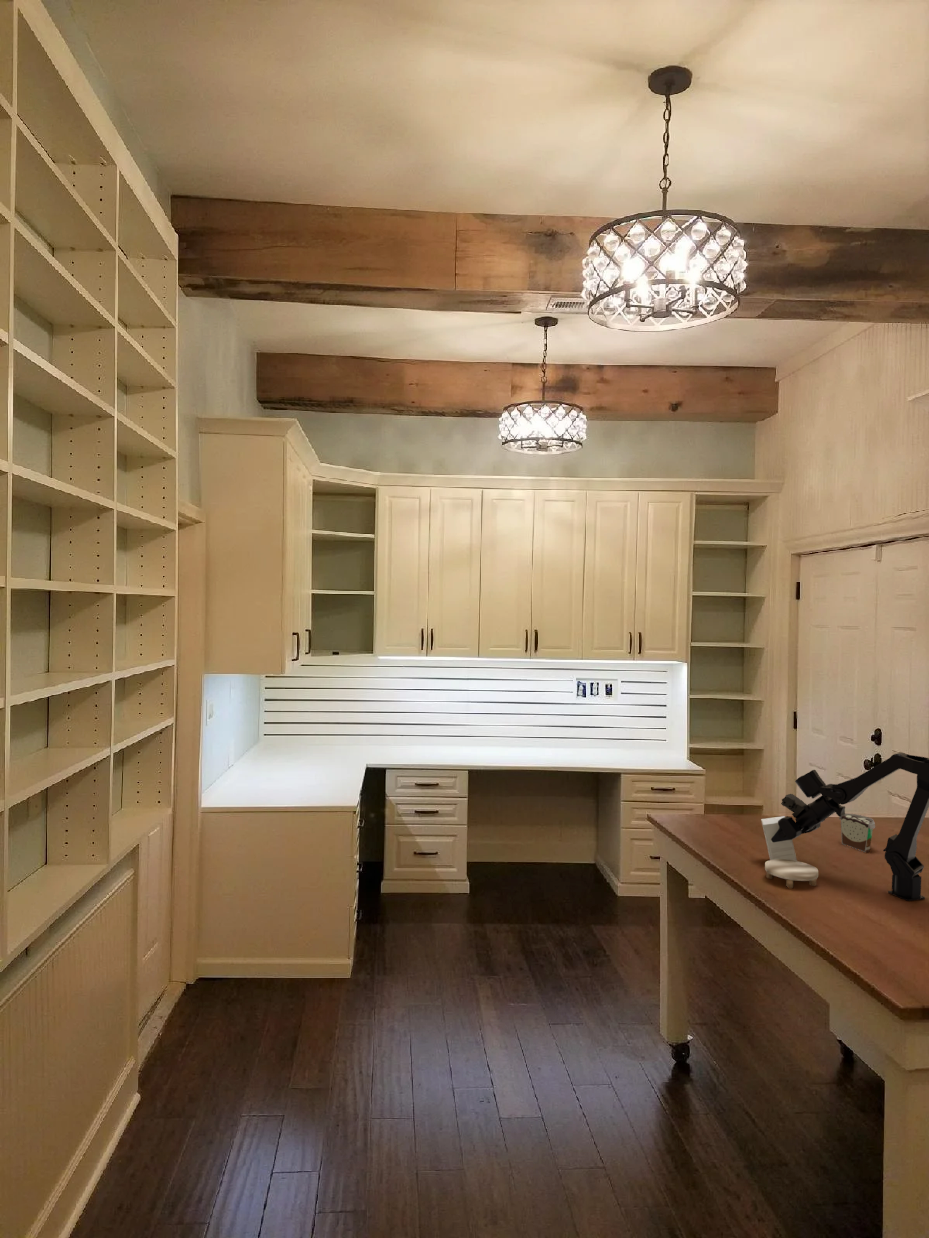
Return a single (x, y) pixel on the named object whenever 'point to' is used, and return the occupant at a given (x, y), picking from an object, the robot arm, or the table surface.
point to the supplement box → (777, 848)
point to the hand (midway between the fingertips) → (778, 838)
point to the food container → (857, 831)
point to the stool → (791, 871)
